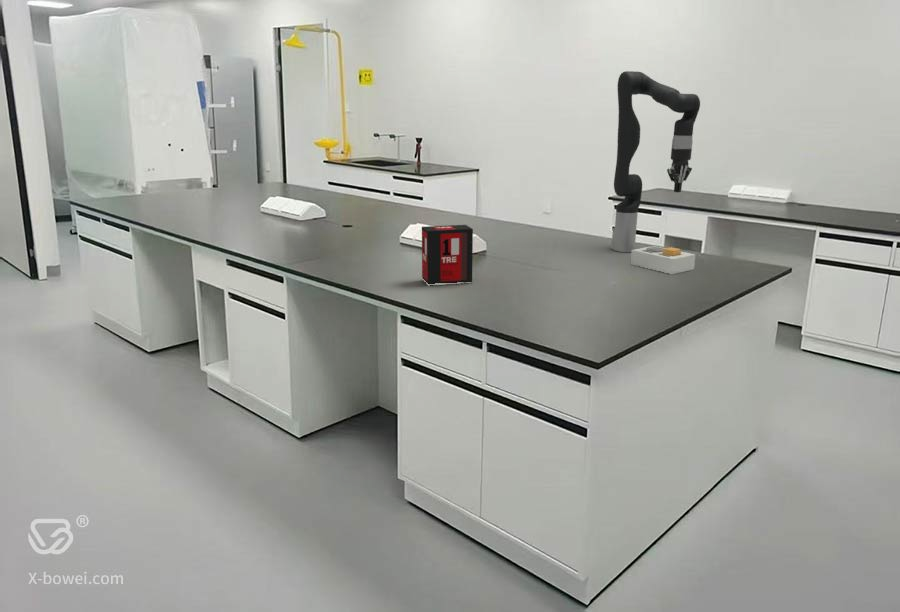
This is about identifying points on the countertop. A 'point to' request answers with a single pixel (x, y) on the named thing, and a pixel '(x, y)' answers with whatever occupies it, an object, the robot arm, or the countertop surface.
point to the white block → (654, 249)
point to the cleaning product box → (447, 254)
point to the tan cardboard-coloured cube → (671, 251)
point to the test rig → (662, 261)
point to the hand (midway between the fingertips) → (677, 192)
